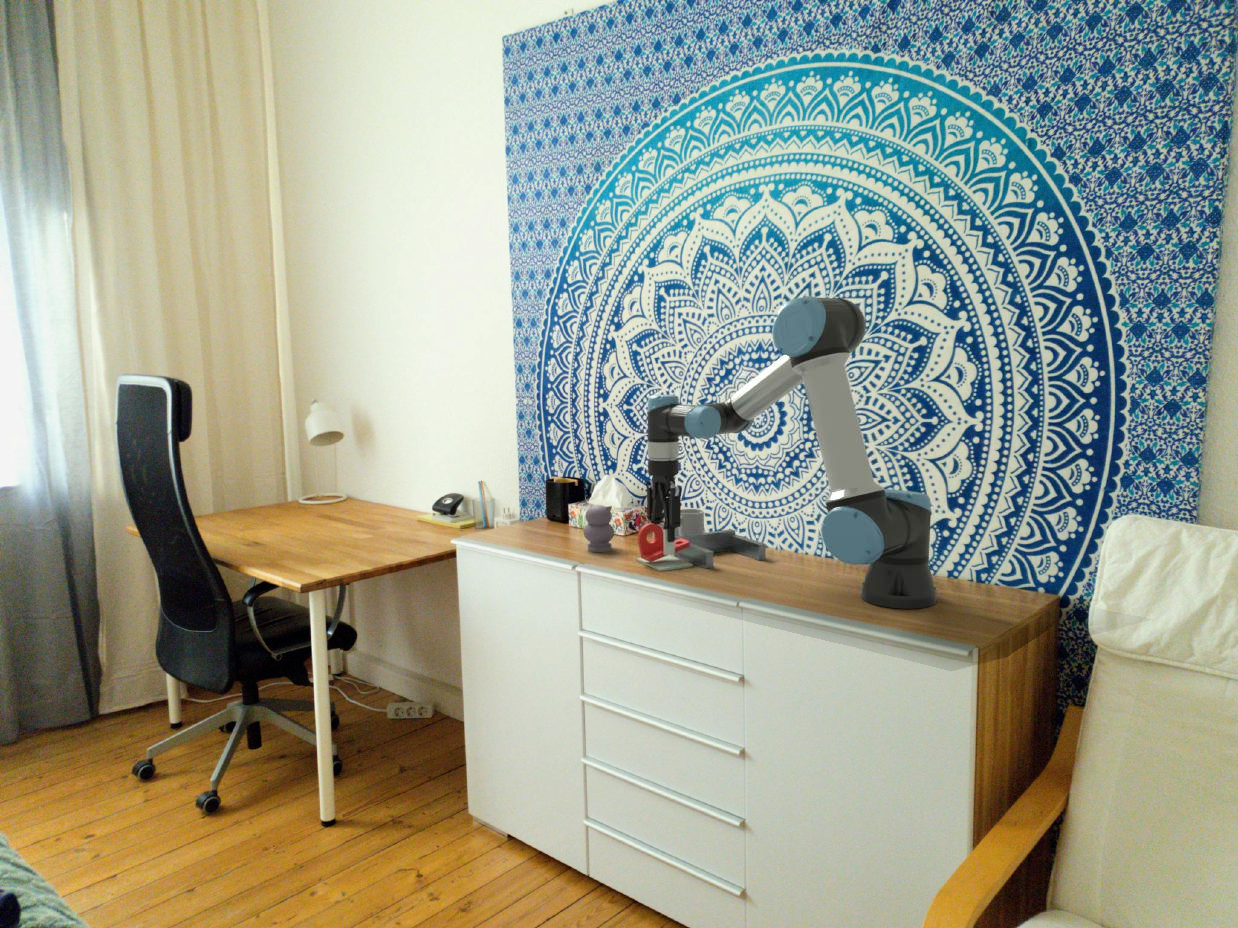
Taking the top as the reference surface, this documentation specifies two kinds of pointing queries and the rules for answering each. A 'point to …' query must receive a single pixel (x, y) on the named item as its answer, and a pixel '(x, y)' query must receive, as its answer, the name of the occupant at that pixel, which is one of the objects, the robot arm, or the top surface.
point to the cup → (690, 522)
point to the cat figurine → (599, 528)
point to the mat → (666, 563)
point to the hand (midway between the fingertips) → (663, 551)
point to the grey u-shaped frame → (718, 547)
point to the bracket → (656, 543)
